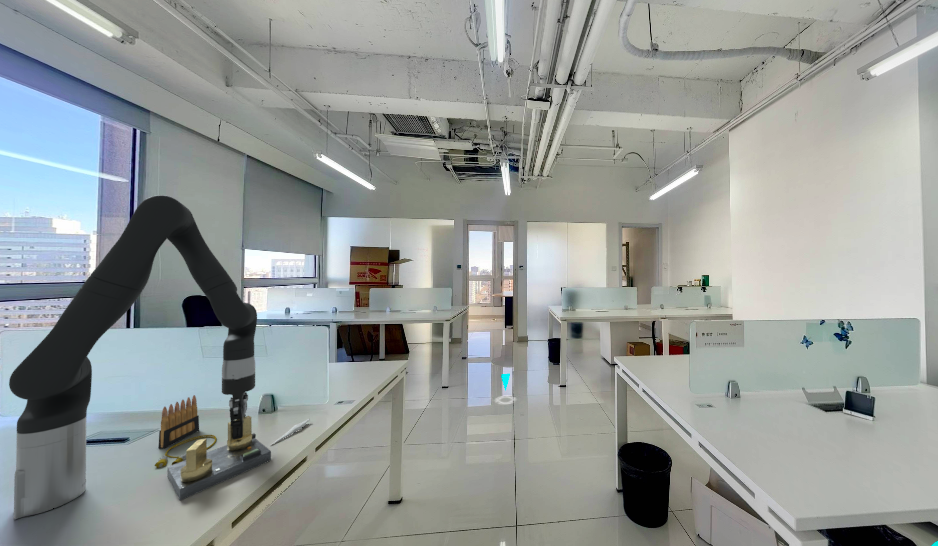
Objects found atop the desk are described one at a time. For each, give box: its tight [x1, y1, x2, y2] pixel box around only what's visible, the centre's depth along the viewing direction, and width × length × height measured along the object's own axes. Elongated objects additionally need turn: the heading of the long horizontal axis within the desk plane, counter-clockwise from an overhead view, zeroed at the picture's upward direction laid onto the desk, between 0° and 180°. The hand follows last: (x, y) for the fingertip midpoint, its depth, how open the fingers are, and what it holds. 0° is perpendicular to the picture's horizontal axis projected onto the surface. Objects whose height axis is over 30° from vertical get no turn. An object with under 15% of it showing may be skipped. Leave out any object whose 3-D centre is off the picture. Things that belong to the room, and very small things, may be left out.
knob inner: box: [180, 438, 212, 482], centre depth 72 cm, size 6×6×7 cm
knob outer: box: [226, 415, 257, 451], centre depth 84 cm, size 6×6×7 cm
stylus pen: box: [270, 418, 311, 446], centre depth 95 cm, size 15×3×2 cm, turn 165°
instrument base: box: [167, 438, 272, 501], centre depth 78 cm, size 18×14×4 cm
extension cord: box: [154, 434, 217, 469], centre depth 86 cm, size 12×16×2 cm
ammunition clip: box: [158, 394, 200, 449], centre depth 93 cm, size 11×2×12 cm, turn 176°
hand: (238, 435), depth 84 cm, fingers closed on knob outer, 3 cm apart
